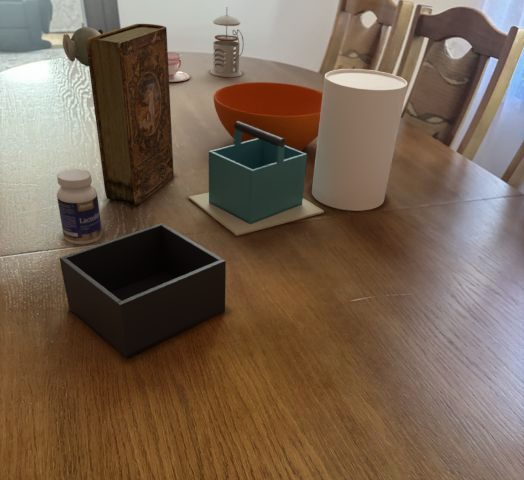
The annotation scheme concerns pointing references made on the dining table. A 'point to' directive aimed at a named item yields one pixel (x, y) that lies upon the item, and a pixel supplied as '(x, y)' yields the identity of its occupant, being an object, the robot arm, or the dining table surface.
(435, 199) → the dining table surface
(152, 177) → the book
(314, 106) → the bowl
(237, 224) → the cream mat
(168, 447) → the dining table surface
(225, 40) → the french press
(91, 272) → the charcoal bin
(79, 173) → the pill bottle
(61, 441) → the dining table surface
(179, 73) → the teacup
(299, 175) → the teal bin
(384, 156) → the canister
